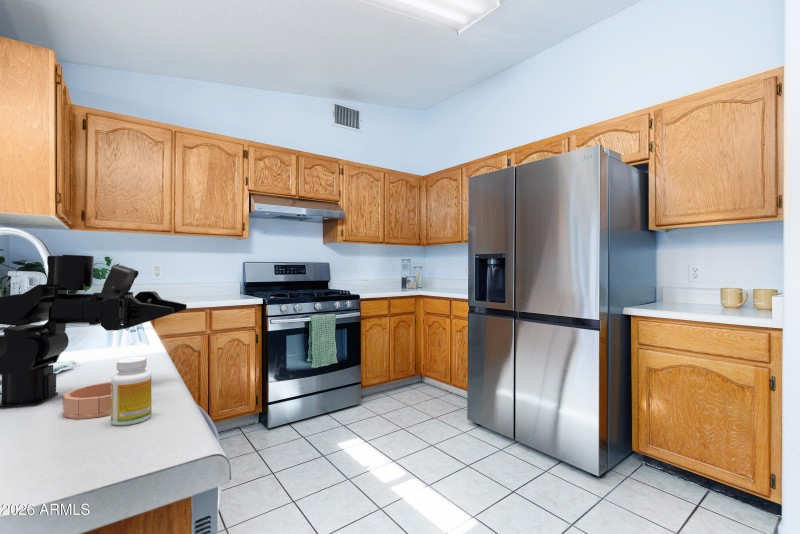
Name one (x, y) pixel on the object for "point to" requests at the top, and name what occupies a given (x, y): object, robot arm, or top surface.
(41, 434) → the top surface
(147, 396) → the supplement bottle
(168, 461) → the top surface
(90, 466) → the top surface
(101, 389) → the terracotta bowl
